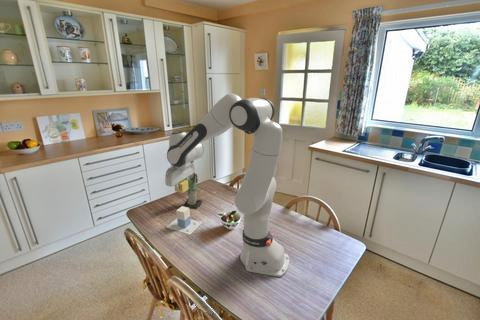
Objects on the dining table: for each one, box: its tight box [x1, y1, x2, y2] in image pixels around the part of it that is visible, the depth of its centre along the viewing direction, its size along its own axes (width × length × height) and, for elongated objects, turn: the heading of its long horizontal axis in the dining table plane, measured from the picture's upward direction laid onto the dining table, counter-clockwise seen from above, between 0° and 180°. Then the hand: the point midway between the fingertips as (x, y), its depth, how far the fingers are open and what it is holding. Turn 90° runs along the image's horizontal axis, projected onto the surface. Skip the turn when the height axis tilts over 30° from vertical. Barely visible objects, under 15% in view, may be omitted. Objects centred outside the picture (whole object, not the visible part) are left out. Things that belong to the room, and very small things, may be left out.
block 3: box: [176, 215, 191, 228], centre depth 133 cm, size 5×5×5 cm
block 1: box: [174, 180, 189, 194], centre depth 126 cm, size 5×5×5 cm
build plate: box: [166, 218, 203, 235], centre depth 134 cm, size 16×12×1 cm
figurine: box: [182, 171, 203, 210], centre depth 151 cm, size 10×10×30 cm
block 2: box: [175, 205, 191, 220], centre depth 131 cm, size 5×5×5 cm
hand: (181, 187), depth 126 cm, fingers closed on block 1, 5 cm apart
